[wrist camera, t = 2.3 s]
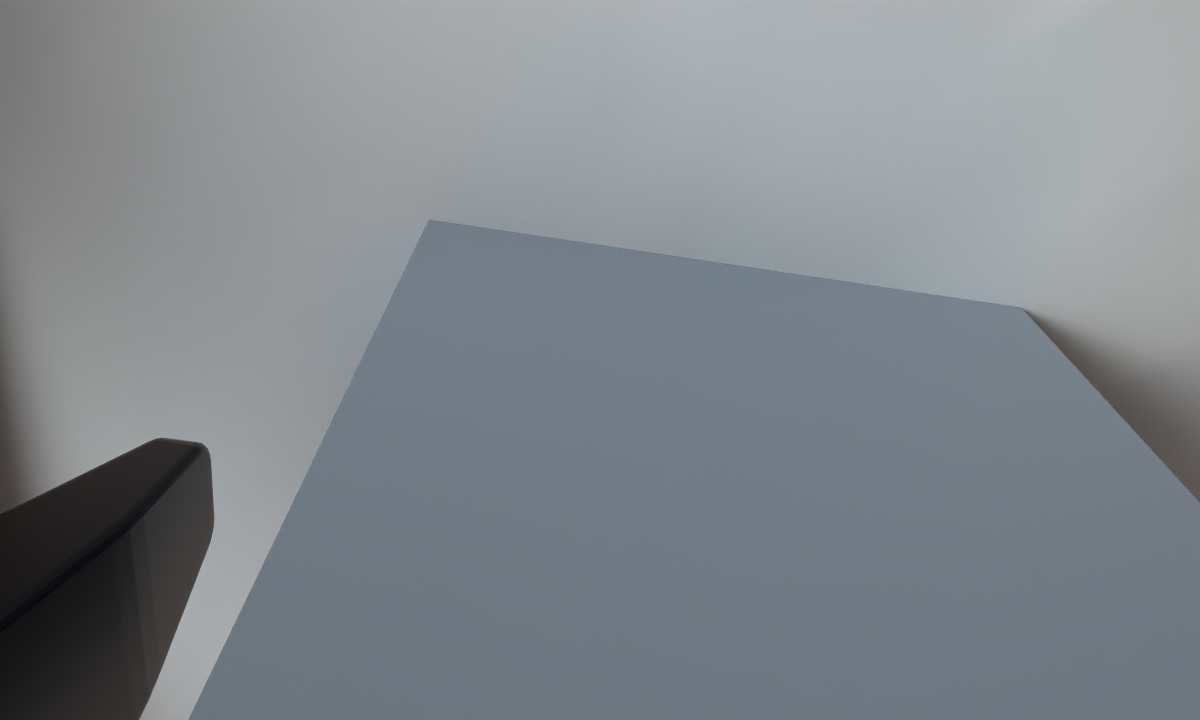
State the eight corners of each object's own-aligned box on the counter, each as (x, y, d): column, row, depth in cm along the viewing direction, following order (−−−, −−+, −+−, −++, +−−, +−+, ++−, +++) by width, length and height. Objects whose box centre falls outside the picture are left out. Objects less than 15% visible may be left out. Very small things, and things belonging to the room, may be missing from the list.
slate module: (898, 598, 11) (1250, 1492, 5) (406, 536, 11) (147, 1433, 5) (1020, 306, 9) (1818, 1176, 3) (428, 218, 9) (38, 1031, 3)
